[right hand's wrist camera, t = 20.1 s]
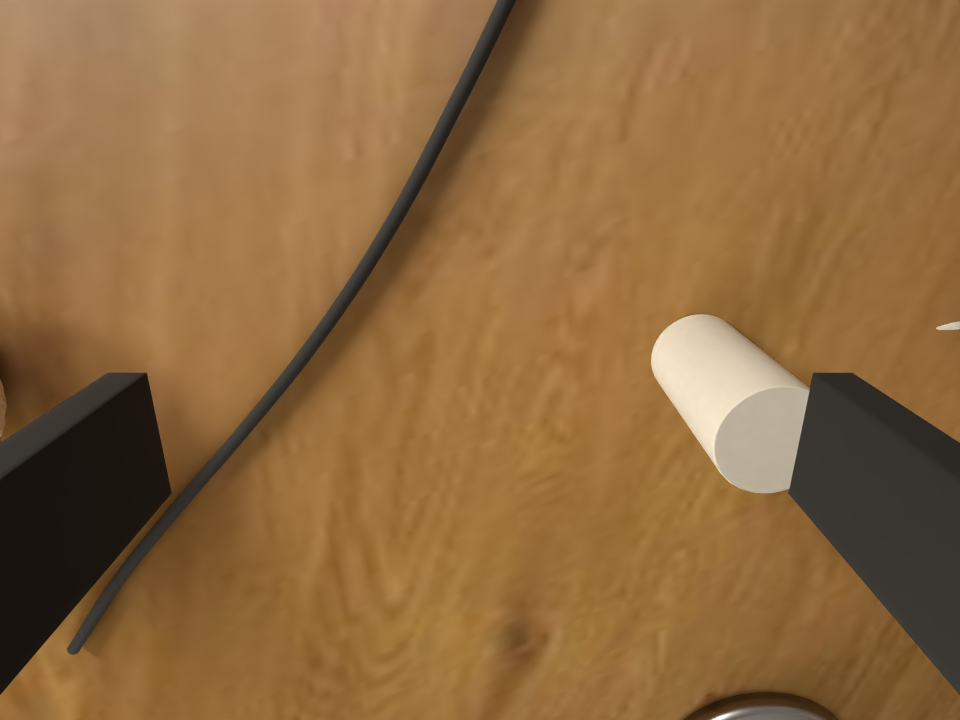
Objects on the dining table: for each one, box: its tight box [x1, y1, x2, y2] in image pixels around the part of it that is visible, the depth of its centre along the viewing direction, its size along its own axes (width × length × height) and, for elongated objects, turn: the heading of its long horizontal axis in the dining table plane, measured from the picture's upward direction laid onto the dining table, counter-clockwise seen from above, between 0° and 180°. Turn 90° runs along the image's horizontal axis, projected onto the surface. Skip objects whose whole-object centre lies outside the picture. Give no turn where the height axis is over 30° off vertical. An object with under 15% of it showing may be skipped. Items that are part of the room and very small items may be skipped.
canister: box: [651, 314, 810, 493], centre depth 32 cm, size 5×5×11 cm
